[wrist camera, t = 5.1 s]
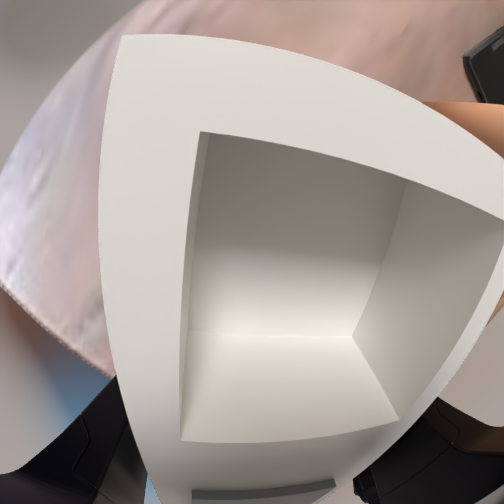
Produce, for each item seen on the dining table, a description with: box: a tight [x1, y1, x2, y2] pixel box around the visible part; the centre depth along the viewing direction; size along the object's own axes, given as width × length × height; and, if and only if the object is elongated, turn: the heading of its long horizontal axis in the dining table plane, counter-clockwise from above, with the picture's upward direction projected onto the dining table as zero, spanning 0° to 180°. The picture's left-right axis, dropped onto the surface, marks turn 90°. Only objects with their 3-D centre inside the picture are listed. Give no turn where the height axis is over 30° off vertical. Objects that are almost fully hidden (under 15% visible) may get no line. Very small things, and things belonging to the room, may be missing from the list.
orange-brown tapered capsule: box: [422, 102, 504, 159], centre depth 11 cm, size 3×3×9 cm
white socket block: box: [98, 34, 504, 504], centre depth 7 cm, size 13×6×5 cm, turn 170°
